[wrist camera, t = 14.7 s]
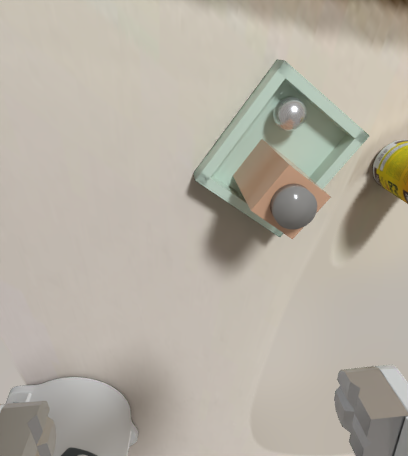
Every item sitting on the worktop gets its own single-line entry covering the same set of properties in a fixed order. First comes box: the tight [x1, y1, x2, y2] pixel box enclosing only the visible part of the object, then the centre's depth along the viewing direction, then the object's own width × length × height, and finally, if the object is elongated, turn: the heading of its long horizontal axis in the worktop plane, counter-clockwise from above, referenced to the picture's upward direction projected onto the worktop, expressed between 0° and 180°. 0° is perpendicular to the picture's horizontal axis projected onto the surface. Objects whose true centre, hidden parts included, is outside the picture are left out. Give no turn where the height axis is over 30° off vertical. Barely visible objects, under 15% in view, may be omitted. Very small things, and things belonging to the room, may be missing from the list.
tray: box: [194, 60, 369, 237], centre depth 36 cm, size 13×11×2 cm
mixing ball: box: [273, 97, 307, 131], centre depth 34 cm, size 3×3×3 cm
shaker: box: [233, 139, 330, 239], centre depth 33 cm, size 5×5×10 cm
